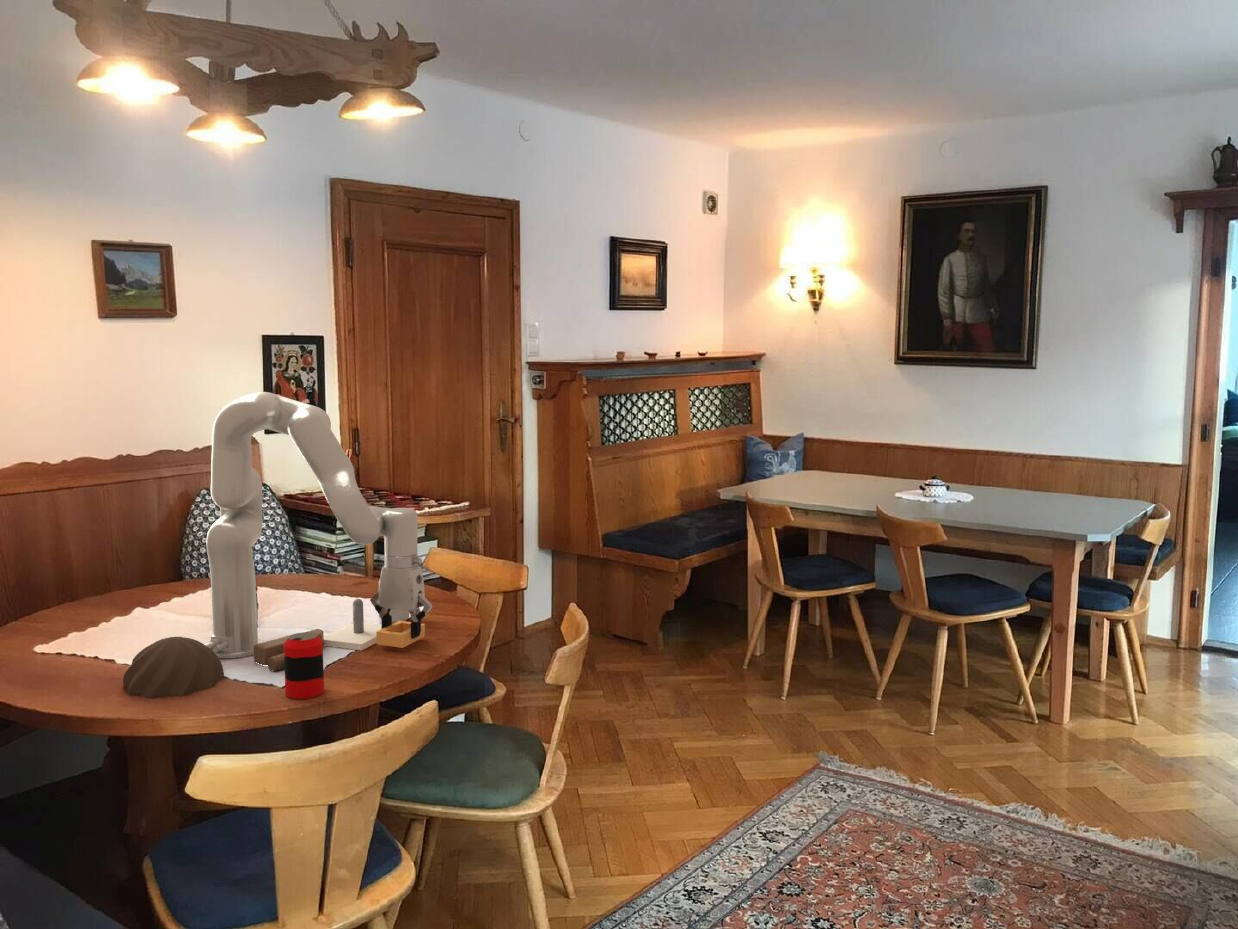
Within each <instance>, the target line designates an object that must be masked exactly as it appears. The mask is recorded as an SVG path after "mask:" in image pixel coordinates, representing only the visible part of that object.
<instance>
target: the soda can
mask: <svg viewBox="0 0 1238 929" xmlns="http://www.w3.org/2000/svg"><path fill="white" fill-rule="evenodd" d="M288 636H289V637H288V639H287V640H286V642H285V643H284V667H285V668H284V688H285V690H284V691H285V692H284V693H285V695H286V696H287V697H288V698H290V699H293V700H307V699H314V698H316V697H319V696H321V695H322V694H323V693H324V692H325V676H324V674H325V672H324V650H323V649H324V646H323V641H322V640H321V639H320V638H319V636H318V635H317V634H316V633H311V632H308V631H305V632H296V633H292V634H291V635H288Z"/></svg>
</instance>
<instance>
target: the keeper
mask: <svg viewBox="0 0 1238 929" xmlns="http://www.w3.org/2000/svg"><path fill="white" fill-rule="evenodd" d="M352 619H353V620H352V621H353V622H350V623H349V624H346V625H345V626H342V627H340V628H338V629H336V630H334V631H331V632H329V633H327V634H325V635H324V645H326V646H325V647H329V646H335V647H334V648H337V647H341V648H340V649H346V648H348V649H347V650H353V651H354V650H355V651H363V650H366V649H368V648H369V647H371V646H373V645H375V644H377V631H379V630H381V629H382V628H381V623H377V622H371V621H370V622H368V621H364V620H365V618H364V601H363V600H362V599H361V598H355V599H353V602H352Z"/></svg>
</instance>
